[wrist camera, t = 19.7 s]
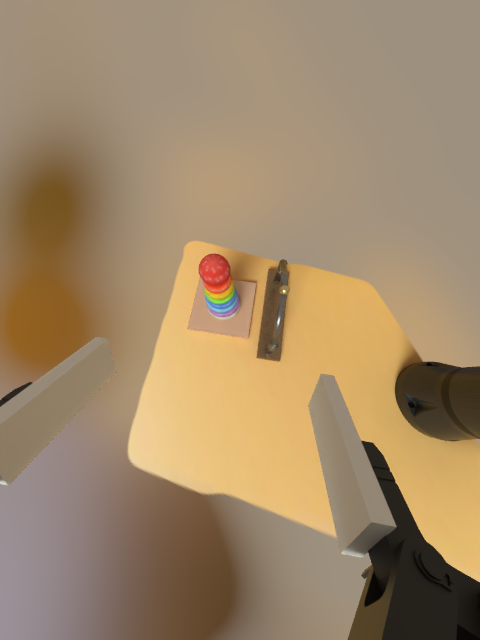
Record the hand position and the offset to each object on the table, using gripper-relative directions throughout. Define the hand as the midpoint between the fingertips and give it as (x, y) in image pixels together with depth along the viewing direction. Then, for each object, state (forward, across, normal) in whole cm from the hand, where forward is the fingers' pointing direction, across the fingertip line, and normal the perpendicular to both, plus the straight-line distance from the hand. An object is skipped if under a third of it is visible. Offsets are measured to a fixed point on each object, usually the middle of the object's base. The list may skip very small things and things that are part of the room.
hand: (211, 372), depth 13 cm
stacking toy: (+35, -5, -11) cm, 37 cm away
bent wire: (+36, +7, -12) cm, 38 cm away
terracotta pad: (+35, -5, -12) cm, 38 cm away
